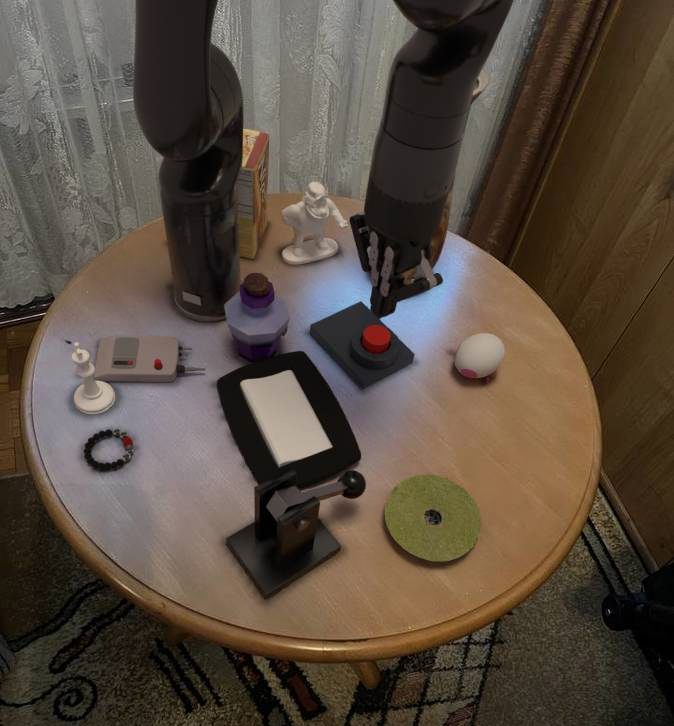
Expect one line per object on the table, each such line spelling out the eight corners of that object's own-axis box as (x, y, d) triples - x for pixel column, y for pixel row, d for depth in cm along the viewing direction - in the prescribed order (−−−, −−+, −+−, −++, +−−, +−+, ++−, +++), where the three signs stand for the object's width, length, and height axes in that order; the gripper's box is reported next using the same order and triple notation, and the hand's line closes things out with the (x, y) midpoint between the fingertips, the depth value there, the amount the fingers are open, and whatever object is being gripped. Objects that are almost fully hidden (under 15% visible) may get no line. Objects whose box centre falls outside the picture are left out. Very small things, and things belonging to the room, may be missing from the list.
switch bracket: (299, 499, 77) (305, 443, 67) (340, 550, 73) (352, 499, 64) (226, 543, 73) (220, 490, 63) (266, 599, 69) (267, 553, 60)
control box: (309, 333, 91) (311, 315, 88) (359, 309, 95) (362, 291, 92) (361, 389, 87) (365, 372, 84) (412, 362, 90) (417, 345, 87)
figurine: (293, 275, 98) (297, 206, 88) (275, 248, 101) (277, 178, 91) (347, 261, 101) (356, 192, 91) (328, 234, 104) (335, 166, 94)
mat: (362, 512, 76) (364, 504, 75) (432, 467, 81) (435, 458, 79) (426, 586, 72) (429, 580, 70) (496, 534, 77) (501, 526, 75)
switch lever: (345, 481, 75) (358, 462, 73) (362, 501, 73) (376, 482, 72) (260, 505, 65) (273, 484, 63) (279, 529, 64) (292, 508, 62)
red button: (356, 340, 87) (358, 331, 86) (377, 330, 89) (379, 321, 87) (373, 357, 86) (375, 348, 84) (393, 347, 87) (396, 338, 86)
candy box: (242, 219, 104) (240, 126, 91) (268, 224, 103) (270, 132, 91) (228, 255, 99) (224, 162, 86) (255, 260, 99) (255, 168, 86)
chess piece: (80, 419, 80) (59, 365, 71) (69, 390, 82) (48, 335, 74) (120, 407, 81) (104, 353, 73) (108, 378, 83) (92, 323, 75)
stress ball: (473, 364, 96) (464, 322, 92) (519, 370, 90) (511, 326, 86) (440, 388, 92) (429, 345, 89) (485, 396, 86) (476, 351, 83)
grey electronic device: (87, 343, 86) (82, 327, 84) (207, 344, 88) (205, 329, 86) (79, 381, 83) (74, 366, 80) (205, 382, 85) (203, 367, 82)
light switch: (206, 371, 83) (306, 337, 86) (209, 385, 86) (306, 351, 89) (262, 497, 74) (372, 454, 77) (264, 508, 76) (370, 466, 80)
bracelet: (140, 462, 77) (139, 457, 76) (91, 478, 75) (89, 474, 74) (126, 426, 80) (124, 421, 79) (79, 441, 78) (77, 436, 77)
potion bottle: (300, 356, 89) (306, 290, 79) (246, 381, 85) (244, 315, 76) (267, 316, 92) (268, 248, 82) (213, 339, 89) (207, 270, 79)
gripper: (490, 202, 58) (443, 337, 72) (398, 126, 63) (371, 266, 78) (426, 228, 55) (391, 363, 69) (335, 146, 60) (320, 287, 75)
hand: (380, 312), depth 73 cm, fingers closed
